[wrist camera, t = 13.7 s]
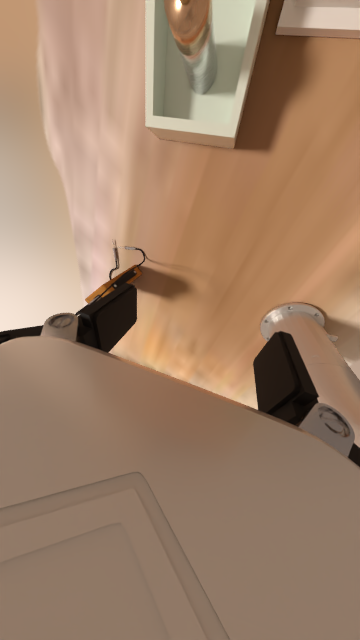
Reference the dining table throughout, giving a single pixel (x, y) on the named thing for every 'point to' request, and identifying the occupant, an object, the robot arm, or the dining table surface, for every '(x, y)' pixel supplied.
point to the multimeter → (114, 281)
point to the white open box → (230, 83)
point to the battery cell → (194, 40)
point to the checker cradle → (320, 18)
